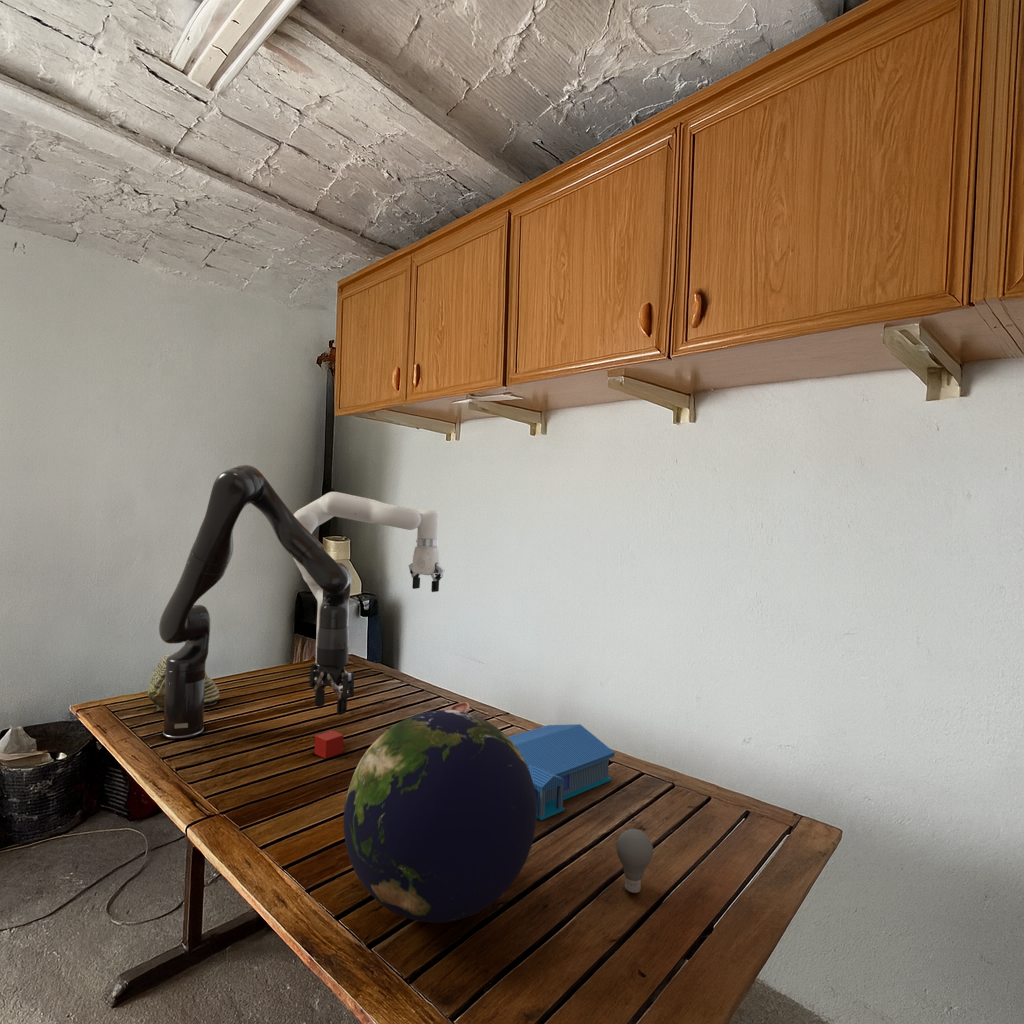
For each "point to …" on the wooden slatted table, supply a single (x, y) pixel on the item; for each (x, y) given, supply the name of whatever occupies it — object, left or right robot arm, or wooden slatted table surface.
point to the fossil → (158, 687)
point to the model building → (562, 763)
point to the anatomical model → (459, 707)
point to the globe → (440, 816)
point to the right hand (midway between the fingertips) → (425, 590)
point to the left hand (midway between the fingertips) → (330, 709)
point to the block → (328, 744)
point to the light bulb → (634, 857)
